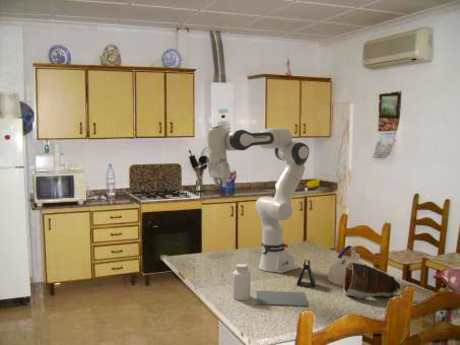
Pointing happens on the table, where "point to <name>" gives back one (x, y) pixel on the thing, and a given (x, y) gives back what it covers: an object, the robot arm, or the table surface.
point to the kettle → (342, 266)
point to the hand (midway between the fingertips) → (220, 186)
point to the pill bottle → (241, 282)
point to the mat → (281, 298)
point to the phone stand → (312, 280)
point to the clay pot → (368, 282)
